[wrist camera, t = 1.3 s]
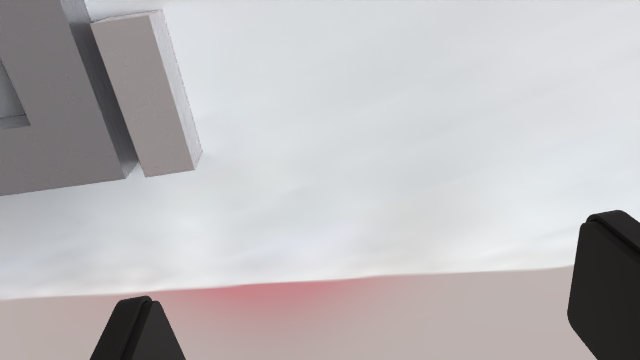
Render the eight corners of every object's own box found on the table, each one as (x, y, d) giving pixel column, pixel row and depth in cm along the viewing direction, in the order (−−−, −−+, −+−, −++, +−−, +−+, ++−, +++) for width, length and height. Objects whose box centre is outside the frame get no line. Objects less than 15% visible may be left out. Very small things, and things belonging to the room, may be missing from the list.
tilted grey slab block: (111, 16, 27) (89, 23, 24) (163, 9, 27) (148, 15, 24) (158, 157, 32) (145, 177, 29) (203, 150, 32) (194, 169, 29)
